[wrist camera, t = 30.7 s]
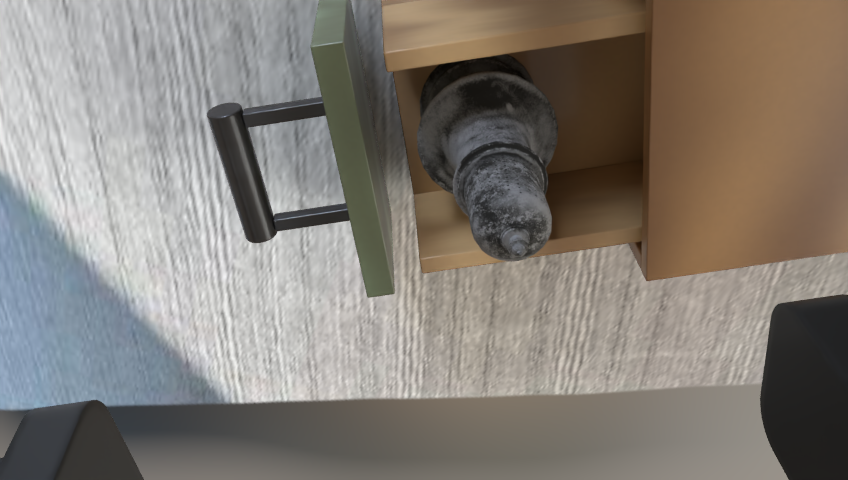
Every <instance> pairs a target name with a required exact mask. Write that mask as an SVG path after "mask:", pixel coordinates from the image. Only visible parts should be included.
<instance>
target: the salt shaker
mask: <svg viewBox="0 0 848 480" xmlns="http://www.w3.org/2000/svg"><path fill="white" fill-rule="evenodd" d="M420 116H421V120H420V124H419V128H418V132H417V146H418V154H419V157H420V160H421V162H422V165H423V168H424V169H425V170H426V172H427V173H428V175H429V176H430V177H431V179H432V180H433V181H434V182H435V183H436V184H438V185H439V186H440V187H442V188H443V189H444V190H445V191H447V192H449V193H452V194H454V197H455V199H456V202H457V204H458V206H459V207H460V208H461V210H462V211H463V212H464V213H465V214H466V215H467V216H468V217H469V222H470V227H471V232H472V234H473V237H474V240H475V241H476V243H477V244H478V246H479V247H480V248H481V250H482V251H483V252H485V253H486V254H487V255H489V256H491V257H493V258H495V259H498V260H503V261H519V260H523V259H526V258H528V257H530V256H532V255H534V254H536V253H537V252H538V251H539V250H540V249H542V248H543V247H544V245H545V244H546V242H547V241H548V239H549V236H550V234H551V227H552V216H551V212H550V209H549V206H548V203H547V201H546V198H545V194H546V191H547V188H548V175H547V171H546V167H547V165H548V164H549V163H550V161H551V159H552V157H553V154H554V151H555V148H556V145H557V137H558V124H557V120H556V116H555V111H554V109H553V107H552V106H551V104H550V102H549V100H548V99H547V97H546V95H545V94H544V93H543V92H542V91H541V90H539V89H538V88H537V87H536V86H535V85H534V83H533V80H532V79H531V77H530V75H529V73H528V72H527V70H526V68H525V67H524V66H523V65H522V64H521V63H519V62H518V61H517V60H516V59H515V58H514V57H512V56H510V55H508V54H503V55H496V56H490V57H484V58H477V59H471V60H464V61H458V62H451V63H445V64H439V65H438V66H437V67H436V68H435V69H434V70H433V71H432V72H431V73H430V75H429V77H428V79H427V80H426V82H425V84H424V86H423V89H422V93H421V97H420Z"/></svg>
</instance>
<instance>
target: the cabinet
mask: <svg viewBox="0 0 848 480" xmlns="http://www.w3.org/2000/svg"><path fill="white" fill-rule="evenodd" d="M628 244H629V246H630V248H631V250H632V252H633V254H634V256H635V258H636V260H637V262H638V264H639V266H640V268H641V271H642V273H643V275H644V277H645V279H646V281H651V280H658V279H665V278H672V277H679V276H686V275H692V274H699V273H706V272H713V271H720V270H727V269H734V268H741V267H747V266H754V265H761V264H768V263H775V262H782V261H789V260H795V259H802V258H809V257H816V256H823V255H830V254H837V253H843V252H848V0H646V18H645V78H644V139H643V199H642V241H640V242H633V243H628Z"/></svg>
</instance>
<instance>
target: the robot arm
mask: <svg viewBox="0 0 848 480" xmlns="http://www.w3.org/2000/svg"><path fill="white" fill-rule="evenodd" d="M760 401H761V404H760V405H761V414H762V420H763V425H764V428H765V432H766V435H767V438H768V441H769V443H770V445H771V447H772V449H773V451H774V453H775V455H776V457H777V459H778V461H779V462H780V464H781V466H782V467H783V470H784V472H785V473H786V475H787V477H788V479H789V480H848V295H843V294H842V295H835V296H828V297H821V298H814V299H807V300H800V301H794V302H787V303H780V304H778V305H777V306H776V307H775V308H774V310H773V312H772V316H771V322H770V329H769V337H768V344H767V351H766V359H765V366H764V373H763V381H762V388H761V398H760ZM0 480H144V479H143V477H142V475H141V473H140V471H139V469H138V467H137V465H136V463H135V461H134V459H133V457H132V455H131V453H130V452H129V450H128V447H127V445H126V444H125V442H124V440H123V438H122V436H121V434H120V432H119V430H118V428H117V426H116V424H115V422H114V420H113V418H112V416H111V414H110V412H109V411H108V409H107V407H106V406H105V405H104V404H103V403H102V402H100V401H98V400H91V401H84V402H77V403H70V404H63V405H56V406H49V407H42V408H35V409H33V410H31V411H29V412H28V413H27V414H26V415H25V416H24V418H23V420H22V421H21V423H20V425H19V427H18V429H17V431H16V433H15V435H14V437H13V439H12V441H11V443H10V446H9V447H8V450H7V451H6V454H5V456H4V458H0Z"/></svg>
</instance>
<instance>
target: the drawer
mask: <svg viewBox="0 0 848 480" xmlns="http://www.w3.org/2000/svg"><path fill="white" fill-rule="evenodd" d="M381 5H382V27H383V52H384V59H385V65H386V70H387V72H393V77H394V83H395V88H396V94H397V100H398V106H399V112H400V118H401V123H402V129H403V135H404V141H405V147H406V153H407V159H408V164H409V170H410V176H411V182H412V188H413V194H414V204H415V215H416V226H417V237H418V247H419V258H420V265H421V270H422V273H429V272H436V271H443V270H450V269H457V268H463V267H470V266H477V265H484V264H491V263H497V262H504V261H503V260H498V259H495V258H493V257H491V256H489V255H487V254H486V253H485V252H483V251H482V250H481V248H480V247H479V246H478V244H477V243H476V241H475V240H474V237H473V234H472V232H471V227H470V222H469V217H468V216H467V215H466V214H465V213H464V212H463V211H462V210H461V208H460V207H459V206H458V204H457V202H456V199H455V197H454V194H452V193H449V192H447V191H445V190H444V189H443V188H442V187H440V186H439V185H438V184H436V183H435V182H434V181H433V180H432V179H431V177H430V176H429V175H428V173H427V172H426V170H425V169H424V168H423V165H422V162H421V160H420V157H419V154H418V146H417V132H418V128H419V124H420V120H421V116H420V97H421V93H422V89H423V86H424V84H425V82H426V80H427V79H428V77H429V75H430V73H431V72H432V71H433V70H434V69H435V68H436V67H437V66H438V65H439V64H445V63H451V62H458V61H464V60H471V59H477V58H484V57H490V56H496V55H503V54H508V55H510V56H512V57H514V58H515V59H516V60H517V61H518V62H519V63H521V64H522V65H523V66H524V67H525V68H526V70H527V72H528V73H529V75H530V77H531V79H532V80H533V83H534V85H535V86H536V87H537V88H538V89H539V90H541V91H542V92H543V93H544V94H545V95H546V97H547V99H548V100H549V102H550V104H551V106H552V107H553V109H554V111H555V116H556V120H557V124H558V137H557V145H556V148H555V151H554V154H553V157H552V159H551V161H550V163H549V164H548V165H547V167H546V171H547V175H548V188H547V191H546V194H545V198H546V201H547V203H548V206H549V209H550V212H551V216H552V227H551V234H550V236H549V239H548V241H547V242H546V244H545V245H544V247H543V248H542V249H540V250H539V251H538V252H537V253H536V254H534V255H532V256H530V257H528V258H531V257H538V256H545V255H552V254H559V253H565V252H572V251H579V250H586V249H592V248H599V247H606V246H613V245H620V244H626V243H633V242H640V241H642V199H643V139H644V78H645V18H646V0H382V1H381ZM311 51H312V56H313V60H314V65H315V69H316V73H317V78H318V82H319V86H320V91H321V95H322V97H318V98H311V99H305V100H298V101H292V102H285V103H279V104H272V105H266V106H259V107H253V108H246V109H244V111H243V109H242V106H241V105H240V104H238V103H225V104H221V105H218V106H215V107H213V108H212V109H210V110H209V111H208V113H207V117H208V120H209V124H210V127H211V130H212V133H213V136H214V139H215V142H216V145H217V149H218V152H219V155H220V158H221V161H222V164H223V167H224V170H225V174H226V177H227V180H228V183H229V186H230V189H231V192H232V196H233V199H234V202H235V205H236V208H237V211H238V214H239V217H240V221H241V224H242V227H243V230H244V233H245V236H246V239H247V240H248V241H249V242H252V243H261V242H265V241H268V240H270V239H272V238H273V237H274V236H275V235H276V234H277V231H282V230H289V229H296V228H302V227H309V226H316V225H322V224H329V223H336V222H343V221H349V220H350V223H351V227H352V231H353V236H354V240H355V245H356V249H357V253H358V258H359V262H360V267H361V271H362V275H363V280H364V284H365V288H366V293H367V297H368V298H369V297H376V296H383V295H390V294H394V293H395V288H394V265H393V242H392V219H391V208H390V203H389V198H388V193H387V187H386V182H385V177H384V172H383V167H382V161H381V156H380V151H379V146H378V141H377V135H376V130H375V125H374V120H373V114H372V109H371V104H370V99H369V94H368V88H367V83H366V78H365V73H364V68H363V62H362V57H361V52H360V47H359V42H358V36H357V31H356V26H355V21H354V15H353V10H352V5H351V0H319V3H318V9H317V15H316V20H315V26H314V31H313V37H312V43H311ZM319 116H326V117H327V122H328V126H329V130H330V135H331V139H332V144H333V148H334V152H335V157H336V161H337V166H338V170H339V174H340V179H341V183H342V187H343V192H344V196H345V201H346V203H344V204H337V205H330V206H324V207H317V208H310V209H304V210H297V211H291V212H284V213H277V214H275V215H274V216H273V212H272V209H271V205H270V202H269V198H268V195H267V192H266V188H265V185H264V181H263V178H262V174H261V171H260V167H259V164H258V161H257V157H256V154H255V150H254V147H253V143H252V140H251V137H250V133H249V130H248V127H254V126H261V125H267V124H274V123H280V122H287V121H293V120H300V119H306V118H313V117H319Z"/></svg>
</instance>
